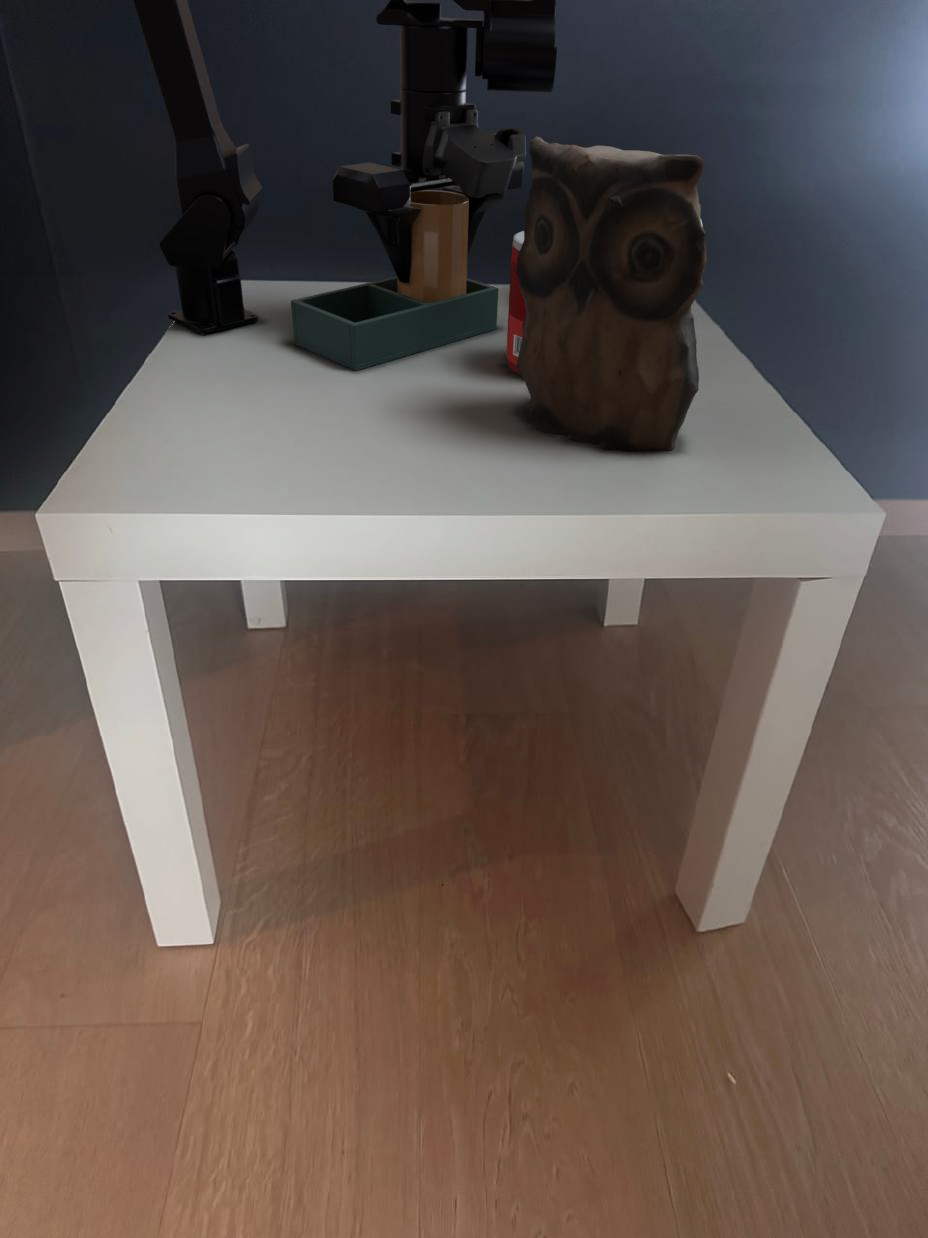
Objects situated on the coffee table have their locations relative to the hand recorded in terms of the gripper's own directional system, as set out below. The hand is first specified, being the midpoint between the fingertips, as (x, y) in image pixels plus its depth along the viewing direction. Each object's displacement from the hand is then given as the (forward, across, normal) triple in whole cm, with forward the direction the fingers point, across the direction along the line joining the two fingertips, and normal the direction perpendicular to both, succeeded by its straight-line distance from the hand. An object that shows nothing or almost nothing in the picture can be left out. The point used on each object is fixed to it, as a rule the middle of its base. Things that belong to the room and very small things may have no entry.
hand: (431, 275), depth 88 cm
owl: (+5, -4, -26) cm, 27 cm away
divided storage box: (+5, -4, 0) cm, 7 cm away
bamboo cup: (+2, 0, 0) cm, 2 cm away
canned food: (+5, +1, -15) cm, 16 cm away
